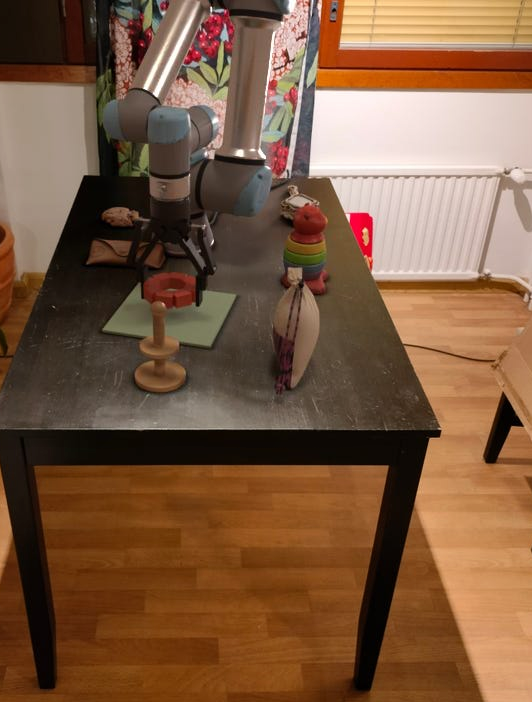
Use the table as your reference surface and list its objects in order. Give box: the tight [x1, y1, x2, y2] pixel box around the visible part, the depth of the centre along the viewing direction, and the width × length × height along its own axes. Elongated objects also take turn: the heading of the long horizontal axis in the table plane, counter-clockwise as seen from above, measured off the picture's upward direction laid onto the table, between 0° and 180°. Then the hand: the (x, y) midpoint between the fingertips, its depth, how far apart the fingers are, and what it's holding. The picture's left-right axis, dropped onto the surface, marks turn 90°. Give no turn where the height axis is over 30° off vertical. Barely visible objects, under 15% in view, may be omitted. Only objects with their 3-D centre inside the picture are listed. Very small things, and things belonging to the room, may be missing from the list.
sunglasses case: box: [85, 238, 167, 269], centre depth 167 cm, size 18×7×7 cm
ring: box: [143, 271, 196, 309], centre depth 144 cm, size 11×11×3 cm
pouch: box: [272, 267, 321, 396], centre depth 126 cm, size 25×8×19 cm, turn 172°
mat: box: [101, 282, 237, 349], centre depth 146 cm, size 22×22×1 cm
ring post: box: [134, 301, 187, 393], centre depth 123 cm, size 9×9×15 cm
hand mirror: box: [278, 184, 320, 221], centre depth 197 cm, size 11×6×30 cm
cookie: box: [101, 206, 140, 228], centre depth 188 cm, size 10×11×3 cm
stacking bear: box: [281, 202, 329, 295], centre depth 155 cm, size 11×10×18 cm
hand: (171, 300), depth 145 cm, fingers closed on ring, 11 cm apart
